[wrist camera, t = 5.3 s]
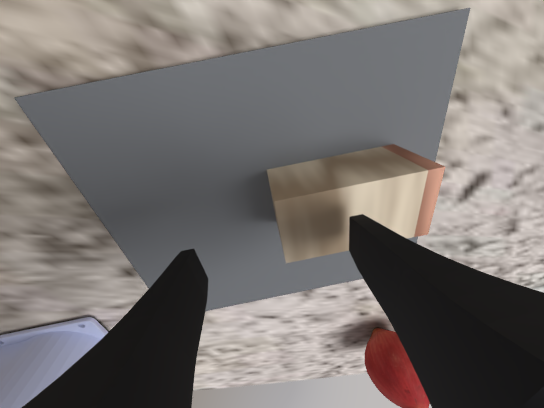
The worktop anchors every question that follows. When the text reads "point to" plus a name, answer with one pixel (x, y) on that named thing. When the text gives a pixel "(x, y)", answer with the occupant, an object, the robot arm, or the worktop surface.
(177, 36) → the worktop surface
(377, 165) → the block
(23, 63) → the worktop surface
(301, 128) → the mat
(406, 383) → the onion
